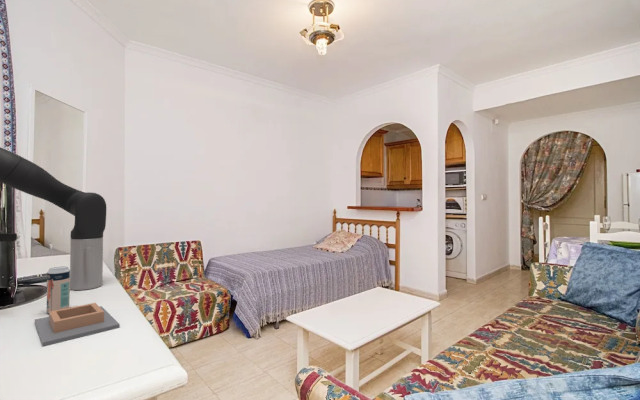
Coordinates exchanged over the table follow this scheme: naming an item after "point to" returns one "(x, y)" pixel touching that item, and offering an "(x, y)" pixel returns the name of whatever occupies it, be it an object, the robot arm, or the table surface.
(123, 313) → the table surface
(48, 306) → the beer can
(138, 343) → the table surface
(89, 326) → the socket plate
